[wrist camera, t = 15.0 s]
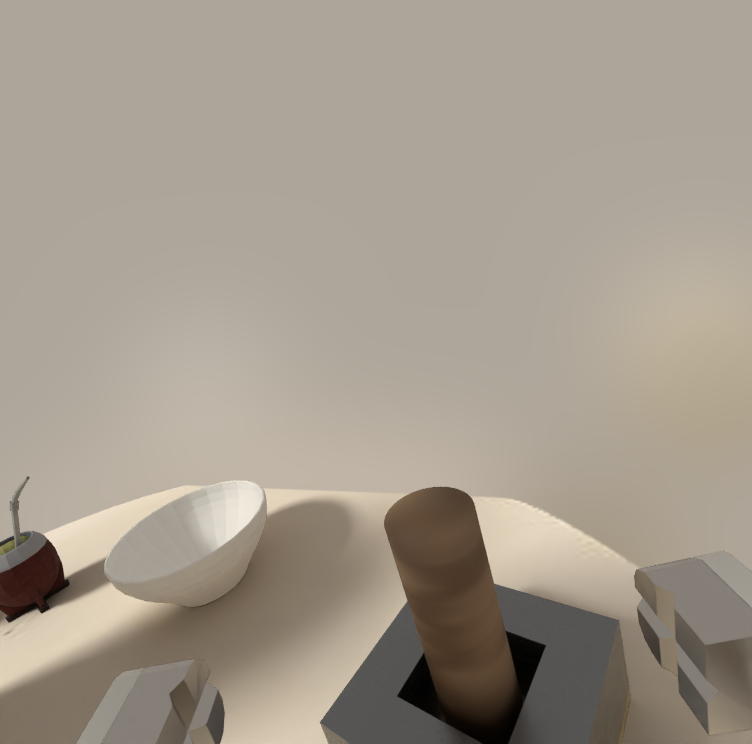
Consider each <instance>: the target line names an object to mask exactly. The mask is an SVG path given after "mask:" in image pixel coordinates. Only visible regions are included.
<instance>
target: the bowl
mask: <svg viewBox="0 0 752 744" xmlns="http://www.w3.org/2000/svg"><path fill="white" fill-rule="evenodd" d="M266 518H267V502H266V496H265V492H264V490H263V489H262V487H261V486H260V485H259V484H257V483H254V482H251V481H241V480H236V481H228V482H222V483H217V484H214V485H210V486H206V487H203V488H201V489H198V490H195V491H193V492H190V493H188V494H185V495H183V496H181V497H179V498H177V499H175V500H173V501H171V502H169V503H167V504H166V505H164V506H162V507H160V508H159V509H157V510H155V511H154V512H152V513H151V514H149V515H148V516H146V517H145V518H144V519H142V520H141V521H139V522H138V523H137V524H135V525H134V526H133V527H132V528H131V529H130V530H129V531H128V532H126V533H125V534H124V535H123V536H122V537H121V538H120V539H119V540H118V542H117V543H116V544H115V545H114V546H113V548H112V549H111V550H110V552H109V554H108V556H107V558H106V560H105V562H104V574H105V575H106V576H107V578H108V579H109V580H110V582H111V583H112V584H113V585H114V587H115V588H116V589H118V590H119V591H121V592H122V593H124V594H125V595H128V596H131V597H134V598H137V599H140V600H144V601H148V602H155V603H171V604H178V605H182V606H185V607H197V606H201V605H205V604H208V603H210V602H212V601H215V600H217V599H218V598H220V597H222V596H223V595H225V594H226V593H228V592H229V591H230V590H231V589H233V588H234V587H235V586H236V585H237V584H238V583H239V581H240V580H241V579H242V577H243V576H244V574H245V573H246V571H247V568H248V565H249V561H250V559H251V557H252V554H253V552H254V550H255V548H256V546H257V545H258V542H259V540H260V537H261V535H262V532H263V529H264V526H265V522H266Z"/></svg>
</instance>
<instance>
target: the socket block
mask: <svg viewBox="0 0 752 744" xmlns="http://www.w3.org/2000/svg"><path fill="white" fill-rule="evenodd" d="M494 586H495V590H496V594H497V599H498V603H499V607H500V611H501V615H502V619H503V623H504V627H505V631H506V635H507V639H508V643H509V647H510V651H511V656H512V660H513V664H514V668H515V672H516V676H517V680H518V684H519V688H520V692H521V696H522V700H523V707H522V709H521V712H520V715H519V717H518V720H517V723H516V725H515V728H514V730H513V733H512V736H511V738H510V741H509V743H508V744H621V742H622V737H623V732H624V727H625V722H626V717H627V712H628V707H629V701H630V696H631V695H630V689H629V682H628V676H627V669H626V663H625V657H624V650H623V644H622V637H621V631H620V625H619V620H616V619H612V618H609V617H605V616H602V615H599V614H595V613H592V612H588V611H585V610H582V609H578V608H575V607H571V606H568V605H565V604H561V603H558V602H554V601H551V600H547V599H544V598H541V597H537V596H534V595H530V594H527V593H524V592H520V591H517V590H513V589H510V588H506V587H503V586H500V585H496V584H494ZM320 724H321V726H322V729H323V731H324V734H325V736H326V738H327V741H328V743H329V744H482V743H480V742H478V741H477V740H475V739H473V738H471V737H469V736H468V735H466V734H464V733H462V732H460V731H459V730H457V729H455V728H453V727H451V726H450V725H448V724H446V721H445V718H444V715H443V712H442V709H441V705H440V702H439V699H438V696H437V693H436V690H435V686H434V683H433V680H432V677H431V674H430V670H429V667H428V664H427V661H426V658H425V654H424V651H423V648H422V645H421V642H420V639H419V635H418V632H417V629H416V626H415V623H414V619H413V616H412V613H411V610H410V607H409V603H408V601H407V603H406V604H405V605H404V607H403V608H402V610H401V611H400V612H399V614H398V615H397V617H396V618H395V619H394V621H393V622H392V623H391V625H390V626H389V628H388V629H387V630H386V632H385V633H384V634H383V636H382V637H381V639H380V640H379V641H378V643H377V644H376V646H375V647H374V648H373V650H372V651H371V652H370V654H369V655H368V657H367V658H366V659H365V661H364V662H363V664H362V665H361V666H360V668H359V669H358V670H357V672H356V673H355V675H354V676H353V677H352V679H351V680H350V682H349V683H348V684H347V686H346V687H345V688H344V690H343V691H342V693H341V694H340V695H339V697H338V698H337V700H336V701H335V702H334V704H333V705H332V706H331V708H330V709H329V711H328V712H327V713H326V715H325V716H324V717H323V719H322V720H321V722H320Z"/></svg>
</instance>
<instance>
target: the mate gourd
mask: <svg viewBox="0 0 752 744" xmlns="http://www.w3.org/2000/svg"><path fill="white" fill-rule="evenodd" d="M28 479H29V477H27V478H26V479H25V480H24V481H23V482H22V484H21V485H20V486H19V487H18V488H17V490H16V491H15V493H14V495H13V497H12V501H10V511H11V513H12V521H13V529H14V536H11V537H9V538H7V539H5V540H3V541H1V542H0V610H1V611H2V612H4V613H5V614H7V615H8V616H7V617H6V620H7V621H8V622H11V621H13V620H14V619H16V618H18V617H19V616H21V615H22V614H24V613H25V612H27V611H29V610H30V609H32V608H33V607H35V606H37V607H38V609H39V611H40V612H41V613H43V612H45V611H47V610H48V609H49V607H48V605H47V603H46V601H45V600H46V599H48V598H49V597H51V596H52V595H54V594H56V593H57V592H59V591H60V590H62V589H63V588H65V587H67V586H68V585H69V580H65V579H64V572H63V566H62V562H61V560H60V557H59V556H58V554H57V551H56V549H55V547H54V546H53V545H52V543H51V542H50V541H49V540H48V539H47V538H46V537H45V536H44V535H42V534H40V533H38V532H34V531H26V532H22V533H20V528H19V518H18V509H19V501H18V498H19V495H20V493H21V491H22V489H23V488H24V486H25V484H26V483H27V481H28Z"/></svg>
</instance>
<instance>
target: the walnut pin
mask: <svg viewBox="0 0 752 744" xmlns="http://www.w3.org/2000/svg"><path fill="white" fill-rule="evenodd" d="M384 526H385V530H386V533H387V536H388V540H389V543H390V546H391V549H392V552H393V556H394V559H395V562H396V565H397V568H398V572H399V575H400V578H401V581H402V584H403V588H404V591H405V594H406V597H407V600H408V603H409V607H410V610H411V613H412V616H413V619H414V623H415V626H416V629H417V632H418V635H419V639H420V642H421V645H422V648H423V651H424V654H425V658H426V661H427V664H428V667H429V670H430V674H431V677H432V680H433V683H434V686H435V690H436V693H437V696H438V699H439V702H440V705H441V709H442V712H443V715H444V718H445V721H446V724H448V725H450V726H451V727H453V728H455V729H457V730H459V731H460V732H462V733H464V734H466V735H468V736H469V737H471V738H473V739H475V740H477V741H478V742H480V743H482V744H508V743H509V741H510V738H511V736H512V733H513V730H514V728H515V725H516V723H517V720H518V717H519V715H520V712H521V709H522V707H523V700H522V696H521V692H520V688H519V684H518V680H517V676H516V672H515V668H514V664H513V660H512V656H511V651H510V647H509V643H508V639H507V635H506V631H505V627H504V623H503V619H502V615H501V611H500V607H499V603H498V599H497V594H496V590H495V586H494V582H493V578H492V574H491V570H490V566H489V562H488V558H487V554H486V550H485V546H484V542H483V537H482V533H481V529H480V525H479V521H478V517H477V513H476V509H475V505H474V502H473V500H472V498H471V497H470V496H469V495H468V494H466V493H465V492H463V491H461V490H458V489H455V488H450V487H432V488H426V489H422V490H419V491H416V492H413V493H411V494H409V495H407V496H405V497H403V498H402V499H400V500H399V501H397V502H396V503H395V504H394V505H393V506H392V507H391V508H390V509H389V511H388V512H387V514H386V516H385V520H384Z"/></svg>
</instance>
